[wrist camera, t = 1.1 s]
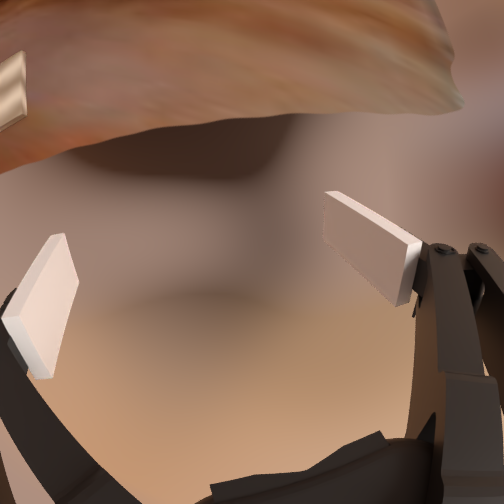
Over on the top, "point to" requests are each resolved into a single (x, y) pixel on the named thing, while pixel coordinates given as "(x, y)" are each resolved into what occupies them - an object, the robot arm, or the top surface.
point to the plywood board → (13, 90)
